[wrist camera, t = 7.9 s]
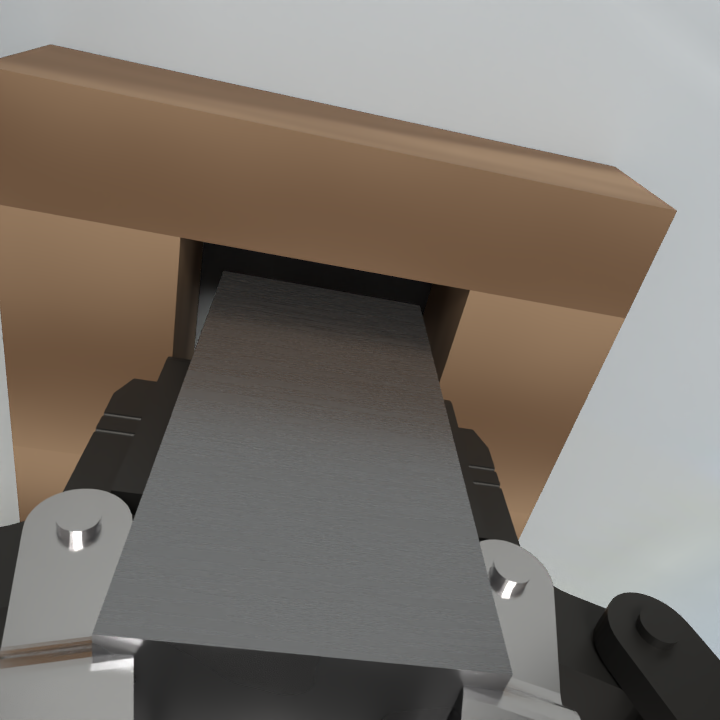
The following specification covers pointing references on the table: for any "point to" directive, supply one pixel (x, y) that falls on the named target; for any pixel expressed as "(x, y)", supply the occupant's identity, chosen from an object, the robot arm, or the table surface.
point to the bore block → (294, 247)
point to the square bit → (305, 525)
